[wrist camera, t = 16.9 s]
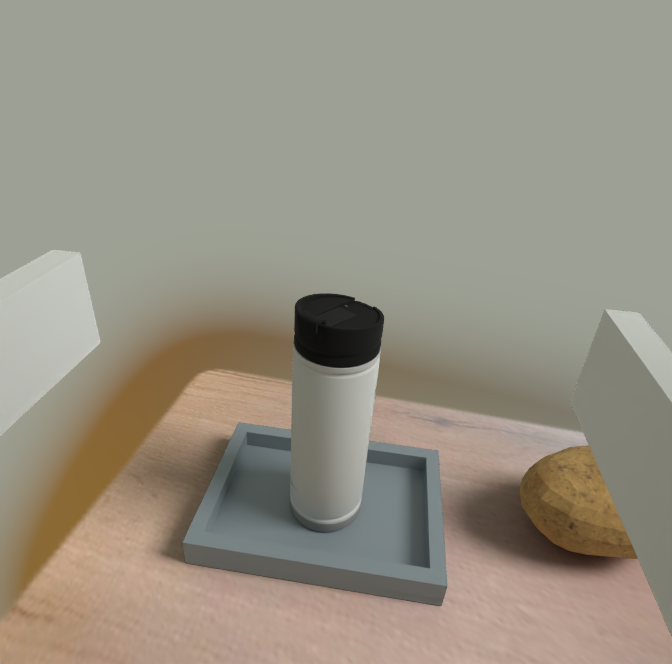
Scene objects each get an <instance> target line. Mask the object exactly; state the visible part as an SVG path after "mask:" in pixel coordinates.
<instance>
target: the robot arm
mask: <svg viewBox="0 0 672 664" xmlns="http://www.w3.org/2000/svg"><path fill="white" fill-rule="evenodd" d="M99 344H100V337H99V333H98V328H97V324H96V320H95V315H94V311H93V307H92V302H91V297H90V293H89V289H88V285H87V280H86V276H85V271H84V267H83V262H82V258H81V254H80V253H78V252H69V251H60V250H51V251H50V252H48V253H46V254H44V255H43V256H41V257H39V258H37V259H35V260H34V261H32V262H30V263H28V264H26V265H25V266H23V267H21V268H19V269H17V270H15V271H14V272H12V273H10V274H8V275H6V276H5V277H3V278H1V279H0V436H1V435H2V434H3V433H4V432H5V431H6V430H7V429H8V428H9V427H10V426H12V424H14V423H15V422H16V421H17V420H18V419H19V418H20V417H21V416H22V415H23V414H24V413H25V412H26V411H28V410H29V409H30V408H31V407H32V406H33V405H34V404H35V403H36V402H37V401H38V400H39V399H41V398H42V397H43V396H44V395H45V394H46V393H47V392H48V391H49V390H50V389H51V388H52V387H53V386H54V385H56V384H57V383H58V381H60V380H61V379H62V378H63V377H64V376H65V375H66V374H67V373H68V372H69V371H71V370H72V369H73V368H74V367H75V366H76V365H77V364H78V363H79V362H80V361H81V360H82V359H83V358H84V357H86V356H87V355H88V354H89V353H90V352H91V351H92V350H93V349H94V348H95V347H96V346H97V345H99ZM570 403H571V405H572V407H573V410H574V412H575V414H576V416H577V419H578V421H579V423H580V426H581V428H582V430H583V433H584V435H585V437H586V440H587V442H588V444H589V447H590V449H591V451H592V453H593V456H594V458H595V460H596V463H597V465H598V467H599V470H600V472H601V474H602V477H603V479H604V481H605V484H606V486H607V488H608V491H609V493H610V495H611V497H612V500H613V502H614V504H615V507H616V509H617V511H618V514H619V516H620V518H621V521H622V523H623V525H624V528H625V530H626V532H627V534H628V537H629V539H630V541H631V544H632V546H633V548H634V551H635V553H636V555H637V558H638V560H639V562H640V565H641V567H642V569H643V571H644V574H645V576H646V578H647V581H648V583H649V585H650V588H651V590H652V592H653V595H654V597H655V599H656V602H657V604H658V606H659V608H660V611H661V613H662V615H663V618H664V620H665V622H666V625H667V627H668V629H669V632H670V634H671V636H672V352H671V351H670V349H669V348H668V347H667V346H666V345H665V343H664V342H663V341H662V340H661V339H660V337H659V336H658V335H657V334H656V333H655V331H654V330H653V329H652V328H651V327H650V325H648V323H647V322H646V321H645V320H644V318H643V317H642V316H641V315H640V313H635V312H626V311H616V310H607V309H605V310H604V313H603V315H602V318H601V321H600V323H599V326H598V329H597V331H596V334H595V337H594V339H593V342H592V345H591V348H590V350H589V353H588V355H587V358H586V361H585V363H584V366H583V369H582V371H581V374H580V377H579V379H578V382H577V384H576V387H575V390H574V393H573V395H572V398H571V401H570Z"/></svg>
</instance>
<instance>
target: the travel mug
mask: <svg viewBox="0 0 672 664" xmlns="http://www.w3.org/2000/svg"><path fill="white" fill-rule="evenodd" d="M383 324H384V315H383V313H382V312H381V311H380V310H379V309H377V308H376V307H371V306H369V305H367V304H364V303H362V302H359V301H355V298H353V297H349V296H345V295H339V294H313V295H308V296H305V297H303V298H301V299H299V300H298V301H297V303H296V305H295V328H294V329H295V330H294V331H295V335H294V342H293V349H294V351H293V380H292V424H291V469H290V508H291V511H292V513H293V515H294V516H295V518H296V519H297V520H298V521H299V522H300V523H301V524H303V525H304V526H306V527H307V528H310V529H312V530H315V531H319V532H333V531H337V530H341V529H343V528H345V527H347V526H348V525H350V524H351V523H352V522H353V521H354V520H355V519H356V517H357V516H358V514H359V511H360V506H361V499H362V491H363V484H364V476H365V468H366V461H367V453H368V445H369V438H370V430H371V422H372V415H373V407H374V399H375V392H376V384H377V376H378V369H379V361H380V352H381V337H382V331H383Z"/></svg>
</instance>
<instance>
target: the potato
mask: <svg viewBox="0 0 672 664" xmlns="http://www.w3.org/2000/svg"><path fill="white" fill-rule="evenodd" d="M519 493H520V500H521V507H522V508H523V509H524V511H525V512H526V514H527V515H528V516H529V518H530V519H531V521H532V522H533V524H534V525H535V526H536V527H537V529H538V530H539V531H540V532H541V533H542V534H543V535H544V536H546V537H547V538H548V539H549V540H550V541H551V542H552V543H553V544H556V545H558V546H560V547H562V548H564V549H566V550H568V551H572V552H576V553H581V554H586V555H596V556H606V557H617V558H633V559H638V558H637V555H636V553H635V551H634V548H633V546H632V544H631V541H630V539H629V537H628V534H627V532H626V530H625V528H624V525H623V523H622V521H621V518H620V516H619V514H618V511H617V509H616V507H615V504H614V502H613V500H612V497H611V495H610V493H609V491H608V488H607V486H606V484H605V481H604V479H603V477H602V474H601V472H600V470H599V467H598V465H597V463H596V460H595V458H594V456H593V453H592V451H591V449H590V447H589V446H578V447H569V448H567V449H564V450H562V451H559V452H557V453H554V454H551V455H548V456H546V457H544V458H543V459H541V460H539V461H538V462H537V463H535V464H534V465H533V466H532V467H530V468H529V469H528V471H527V472H526V474H525V475H524V477H523V479H522V483H521V486H520V490H519Z"/></svg>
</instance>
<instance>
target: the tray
mask: <svg viewBox="0 0 672 664" xmlns="http://www.w3.org/2000/svg"><path fill="white" fill-rule="evenodd" d="M290 469H291V430H289V429H282V428H275V427H268V426H261V425H254V424H247V423H240V422H238V424H237V427H236V429H235V431H234V433H233V435H232V437H231V439H230V442H229V444H228V446H227V448H226V450H225V452H224V454H223V457H222V459H221V461H220V463H219V465H218V467H217V469H216V472H215V474H214V476H213V478H212V480H211V482H210V484H209V487H208V489H207V491H206V493H205V495H204V497H203V499H202V502H201V504H200V506H199V508H198V510H197V512H196V514H195V517H194V519H193V521H192V523H191V525H190V527H189V529H188V532H187V534H186V536H185V538H184V540H183V542H182V544H183V550H184V557H185V563H188V564H194V565H200V566H206V567H212V568H218V569H224V570H230V571H236V572H242V573H248V574H254V575H260V576H266V577H272V578H278V579H283V580H289V581H295V582H301V583H307V584H313V585H319V586H325V587H331V588H337V589H343V590H349V591H355V592H361V593H367V594H373V595H379V596H385V597H390V598H396V599H402V600H408V601H414V602H420V603H426V604H432V605H438V606H442V602H443V599H444V596H445V592H446V589H447V574H446V559H445V543H444V528H443V513H442V498H441V483H440V467H439V452H438V451H437V450H430V449H423V448H416V447H409V446H402V445H395V444H388V443H381V442H374V441H369V445H368V453H367V461H366V468H365V476H364V484H363V491H362V499H361V506H360V511H359V514H358V516H357V517H356V519H355V520H354V521H353V522H352V523H351V524H350V525H348V526H347V527H345V528H343V529H341V530H337V531H333V532H319V531H315V530H312V529H310V528H307V527H306V526H304V525H303V524H301V523H300V522H299V521H298V520H297V519H296V518H295V516H294V515H293V513H292V511H291V508H290Z"/></svg>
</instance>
